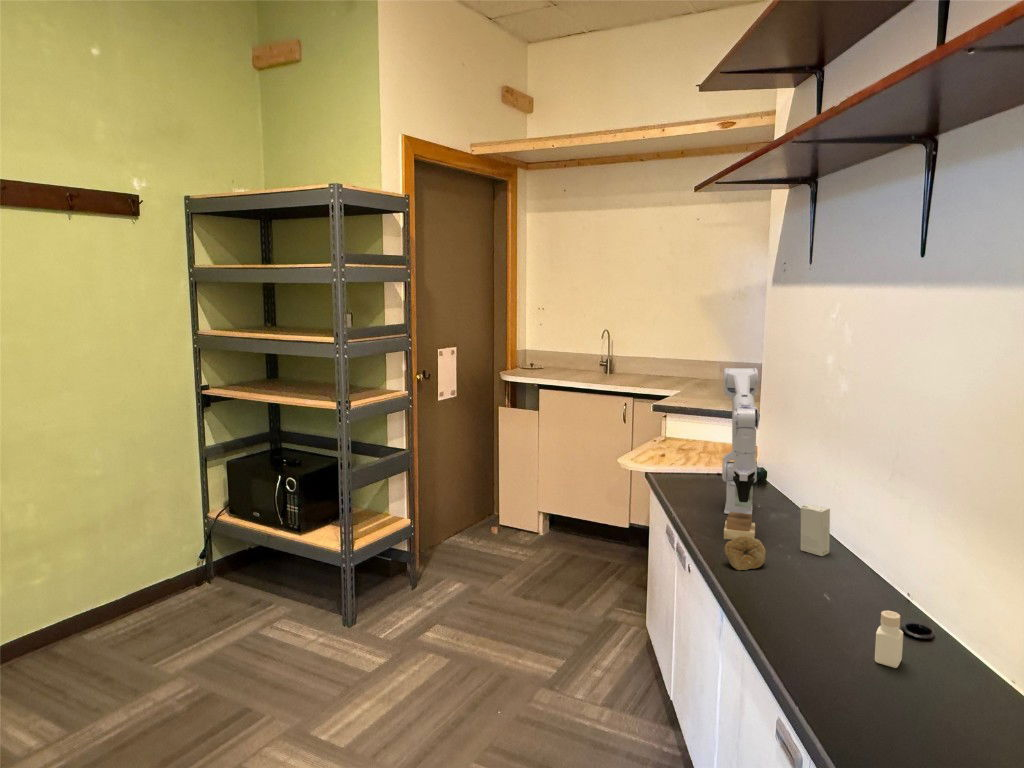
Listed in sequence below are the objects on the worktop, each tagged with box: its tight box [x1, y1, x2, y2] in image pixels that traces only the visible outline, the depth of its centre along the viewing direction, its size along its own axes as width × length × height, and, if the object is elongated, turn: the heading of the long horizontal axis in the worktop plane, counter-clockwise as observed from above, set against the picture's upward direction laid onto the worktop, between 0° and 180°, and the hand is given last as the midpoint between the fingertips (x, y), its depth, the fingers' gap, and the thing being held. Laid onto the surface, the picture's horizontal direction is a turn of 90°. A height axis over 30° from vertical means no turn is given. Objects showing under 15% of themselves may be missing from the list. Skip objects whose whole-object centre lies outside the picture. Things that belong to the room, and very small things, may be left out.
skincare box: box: [800, 503, 831, 557], centre depth 186 cm, size 6×4×12 cm
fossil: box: [724, 536, 766, 571], centre depth 180 cm, size 9×4×10 cm
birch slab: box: [723, 520, 756, 541], centre depth 199 cm, size 8×8×3 cm
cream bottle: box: [874, 610, 904, 669], centre depth 133 cm, size 4×4×10 cm
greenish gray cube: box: [735, 485, 754, 508], centre depth 198 cm, size 4×4×5 cm
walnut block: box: [726, 512, 753, 531], centre depth 199 cm, size 6×6×3 cm
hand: (743, 499), depth 198 cm, fingers closed on greenish gray cube, 4 cm apart
